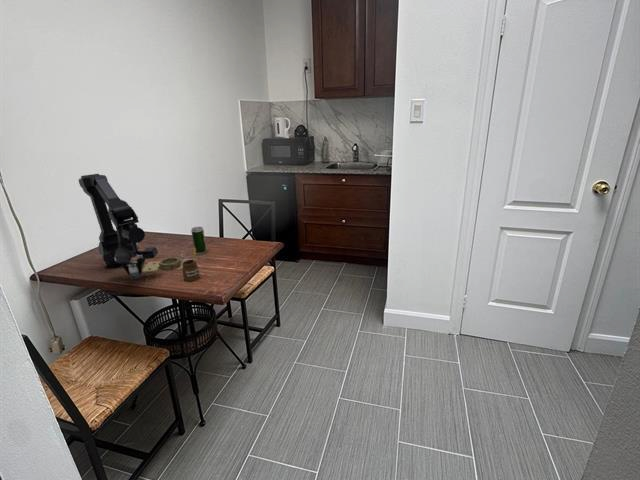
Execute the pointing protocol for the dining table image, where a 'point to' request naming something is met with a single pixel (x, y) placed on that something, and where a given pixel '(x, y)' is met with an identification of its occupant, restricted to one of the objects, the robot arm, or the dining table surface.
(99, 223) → the robot arm
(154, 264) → the octagon ring with plates
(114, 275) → the dining table surface
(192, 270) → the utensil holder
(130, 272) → the steel pin
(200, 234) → the beer can
